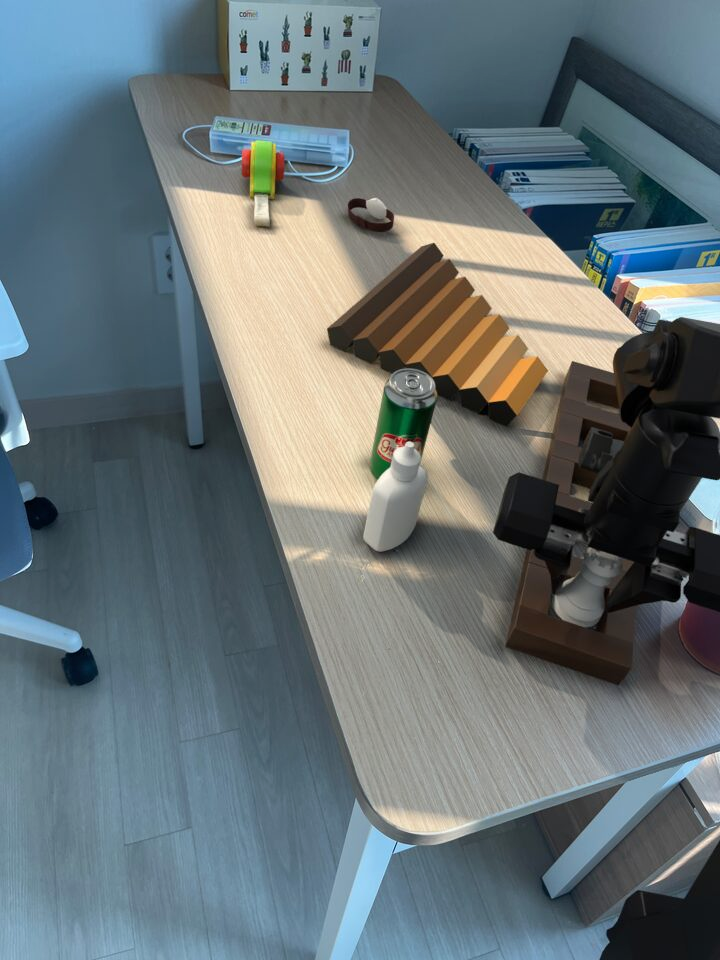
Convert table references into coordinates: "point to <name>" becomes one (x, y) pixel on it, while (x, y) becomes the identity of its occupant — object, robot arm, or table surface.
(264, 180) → the toy measuring tape
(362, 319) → the pan flute
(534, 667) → the table surface
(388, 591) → the table surface
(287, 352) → the table surface
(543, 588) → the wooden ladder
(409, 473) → the eye dropper bottle
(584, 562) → the rook chess piece
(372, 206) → the watch
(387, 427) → the soda can
